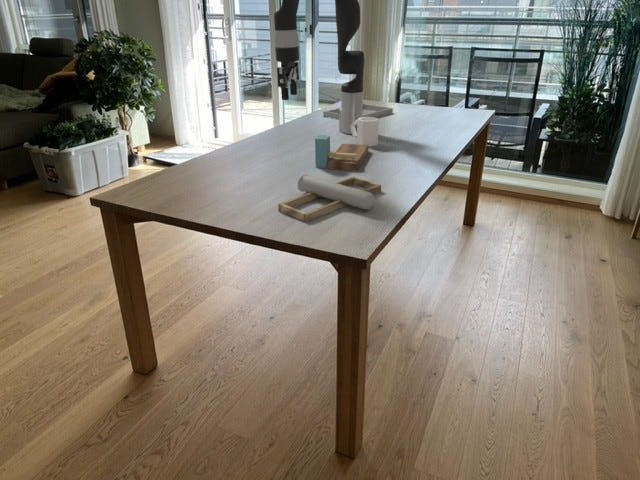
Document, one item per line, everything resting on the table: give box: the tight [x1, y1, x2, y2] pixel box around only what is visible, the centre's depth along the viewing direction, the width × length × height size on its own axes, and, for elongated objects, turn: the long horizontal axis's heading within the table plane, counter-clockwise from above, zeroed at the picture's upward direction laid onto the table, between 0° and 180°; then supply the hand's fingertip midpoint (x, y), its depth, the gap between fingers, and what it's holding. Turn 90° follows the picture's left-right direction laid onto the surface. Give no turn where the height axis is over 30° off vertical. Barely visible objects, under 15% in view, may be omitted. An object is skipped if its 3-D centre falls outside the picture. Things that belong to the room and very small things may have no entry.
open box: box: [326, 143, 369, 172], centre depth 172 cm, size 10×24×3 cm, turn 165°
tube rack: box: [277, 176, 382, 223], centre depth 136 cm, size 11×31×2 cm, turn 135°
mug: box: [350, 117, 380, 147], centre depth 190 cm, size 12×9×10 cm
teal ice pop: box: [314, 134, 356, 169], centre depth 163 cm, size 14×5×10 cm, turn 75°
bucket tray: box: [322, 103, 394, 120], centre depth 241 cm, size 21×29×2 cm
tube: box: [297, 173, 377, 211], centre depth 134 cm, size 5×5×25 cm
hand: (289, 97), depth 160 cm, fingers open, 8 cm apart
